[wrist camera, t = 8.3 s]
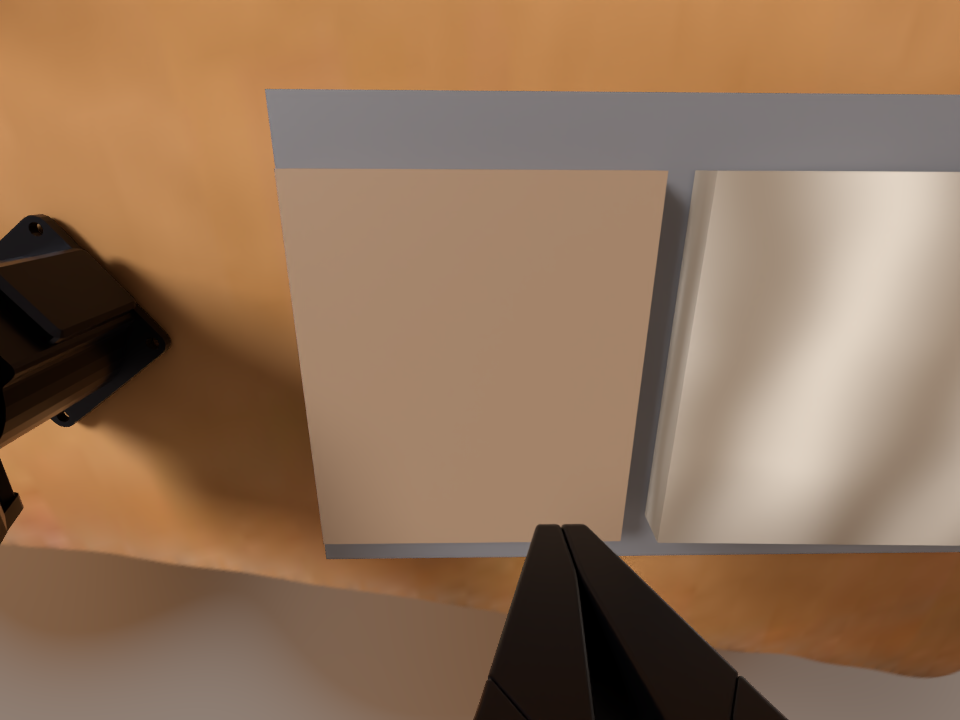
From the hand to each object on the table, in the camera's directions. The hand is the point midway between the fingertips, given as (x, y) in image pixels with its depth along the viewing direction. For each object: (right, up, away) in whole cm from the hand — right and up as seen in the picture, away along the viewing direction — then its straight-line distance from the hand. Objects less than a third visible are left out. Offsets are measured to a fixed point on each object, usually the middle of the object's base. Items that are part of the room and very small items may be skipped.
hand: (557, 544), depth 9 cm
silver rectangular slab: (+12, +3, +8) cm, 15 cm away
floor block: (+6, +5, +12) cm, 15 cm away
